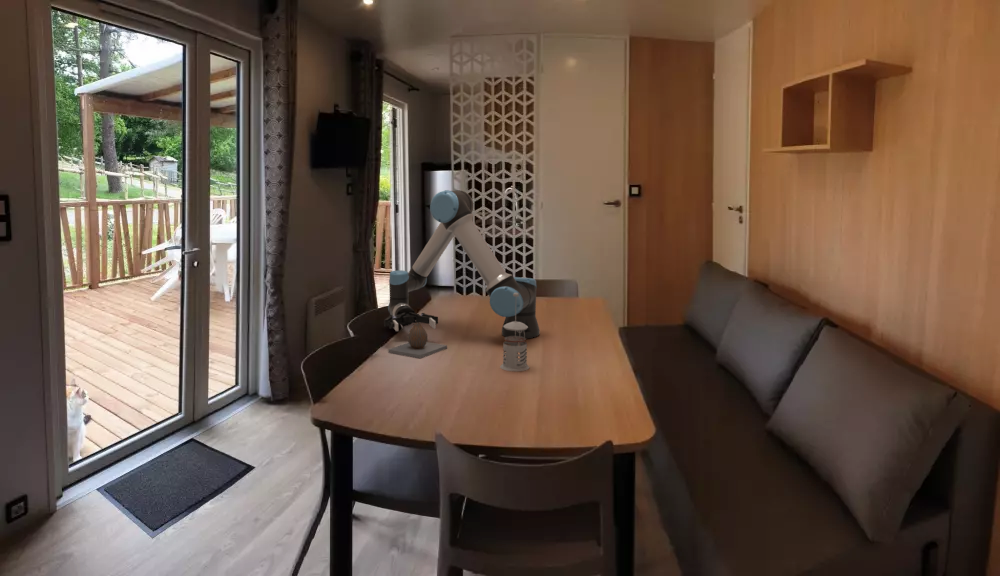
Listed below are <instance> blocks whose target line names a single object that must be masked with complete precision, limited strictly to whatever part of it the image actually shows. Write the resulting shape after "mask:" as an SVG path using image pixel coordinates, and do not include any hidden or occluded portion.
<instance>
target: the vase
mask: <svg viewBox="0 0 1000 576" xmlns="http://www.w3.org/2000/svg"><path fill="white" fill-rule="evenodd" d="M407 341H408V342H407V343H409V344H410V346H411V347H412V348H416V349H419V348H423V347H424V346H425V345H426V343H427V342H428V333H427V330H426V329H425V328H424V326H423V325H422V323H420V322H419V323H413V325H412V327H411V329H409V332H408V335H407Z"/></svg>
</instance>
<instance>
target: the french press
mask: <svg viewBox="0 0 1000 576" xmlns="http://www.w3.org/2000/svg"><path fill="white" fill-rule="evenodd" d="M513 296H515V297H518V296H519V294H518V293H514V294H513ZM502 327H504V328H505V329H507V330H512V331H515V336H509V337H506V336H504V341H503V343H502V345H503V347H502V348H503V349H502V351H503V353H502V354H503V356H502V360H503V361H502V364H501V365H500V366H499V368H500V369H501V370H504V371H508V372H524V371H528V370H529V369H530V365H528V363H527V362H528V359H527V358H528V356H527V355H528V348H527V347H528V343H527V338H525V333H524V337H522V336H516V331H517V332H518V331H519V334H520V333H521V332H522V330H523V331H524V330H526V329H527V328H528V326H527V325H525V324H524V323H521V322H517V321H516V309H515V321H514V322H510V323H507V324H505V325H504V326H503V325H502ZM520 331H521V332H520Z"/></svg>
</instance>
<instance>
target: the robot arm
mask: <svg viewBox="0 0 1000 576" xmlns="http://www.w3.org/2000/svg"><path fill="white" fill-rule="evenodd" d="M429 210H430V211H429V212H430V214H431V216H432V218H433V219H434V220H435V221H436V222H438V223H439V224H438V225H437V227H436V229H435V230H434V232H433V234H432V235H431V236H430V238H429V240H428V242H427V243H426V244H425V246H424V248H423V249H422V251H421V252H420V254H419V255H418V257H417V259H416V260H415V262H414V263H413V265H412V267H411V268H410V269H409V271H407V270H402V269H401V270H397V269H396V270H392V271H390V272H389V280H388V282H389V284H388V285H389V303H388V305H387V309H388V313H389V314H388V315H389V316H387V317H386V318H385V319H384V320H383V327H385V328H387V327H389V329H390V330H392V329H394V330H395V332H399V325H401V326H405V327H406V326H410V325H412V324H414V323H421V324H428V325H429V326H430V327H431V328H432V329H435V330H436V325H439V316H435V315H431V314H428V313H425V312H422V313H421V314H419V313H416V311H415V310H414V308H412V307H411V306H410V304H409V295H410V294H409V293H410V292H413V291H416V290H417V291H418V290H420V289H422V288H424V287H425V286H426V285H427V283H428V276H429V275H430V273H431V272H432V270H433V269H434V267H435V266H436V264H437V263H438V261H439V260H440V258H441V256H442V255H443V254H444V252H445V250H446V249H447V247H448V246H449V244H451V241H453V238H454V237H455V238H456V240H457V241H458V243H459V244H460V246H461V247H462V249H463V250H464V252H465V253H466V255H467V256H468V259H469V260H470V261H471V263H472V264H473V266H474V267H475V270H477V272H478V274H479V275H480V277H481V278H482V280H483V281H484V283H485V285H486V290H485V292H486V294H487V295H488V297H489V305H490V309H491V310H492V311H493V312H494V313H495V314H496V315H498V316H500V317H503V318H504V322H503V325H502V327H501V335H502V336H503V337H509V336H515V331H512V330H507V329H505V328H504V327H503V326H504V325H505V324H507V323H510V322H514V321H515V309H516V321H517V322H521V323H524V324H525V325H527V326H528V328H527V329H526V330H524V331H523V330H522V332H521V331H520V332H521V333H520V334H519V331H518V332H517V331H516V336H522V337H524V333H525V338H526V339H533V337H534V338H537V337H539V336H540V334H541V333H540V332H541V331H540V326H539V323H538V319H537V317H536V313H537V312H536V309H537V308H536V307H537V280H536V279H535V278H531V277H519V276H513V274H511V273H507V272H506V271H505V269H504V268H503V266H502V265H501V263H500V262H499V260H498V259H497V257H496V256H495V254H494V252H493V251H492V249H491V248H490V246H489V245H488V243H487V241H486V240H485V239H484V237H483V235H482V234H481V232H480V231H479V229H478V227H477V226H476V225H475V223H474V221H473V216H474V214H473V211H474V200H473V199H472V196H471V195H470V194H469V193H468V192H465V191H464V190H449V189H447V190H443V191H439V192H437V193H436V194H434V196H433V197H432V198H431V201H430V205H429ZM514 293H518V294H519V296H518V297H515V296H513V294H514ZM538 335H539V336H538ZM536 336H537V337H536Z"/></svg>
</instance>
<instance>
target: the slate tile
mask: <svg viewBox="0 0 1000 576" xmlns="http://www.w3.org/2000/svg"><path fill="white" fill-rule="evenodd" d="M447 349H448V345H447V344H441V343H435V342H430V341H427V343H426V345H425V346H424V347H423V348H419V349H416V348H412V347H411V346H410V344H409V342H406V343H403V344H400V345H398V346H394V347H391V348H389V349H388V353H389V354H395V355H399V356H404V355H406V356H405V357H409V356H410V357H409V358H414V357H415V358H416V359H422V358H426V357H428V356H430V355H433V353H434V354H437V353H439V352H441V351H444V350H447ZM425 356H426V357H425Z"/></svg>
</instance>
